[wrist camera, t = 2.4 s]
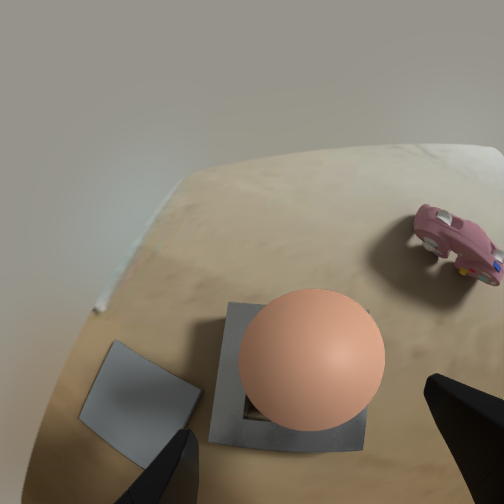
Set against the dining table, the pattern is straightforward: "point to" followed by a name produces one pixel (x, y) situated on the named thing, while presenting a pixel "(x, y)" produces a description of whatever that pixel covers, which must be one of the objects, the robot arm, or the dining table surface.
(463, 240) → the video game controller
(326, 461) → the dining table surface
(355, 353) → the pin
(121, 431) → the mat
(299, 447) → the eye block
